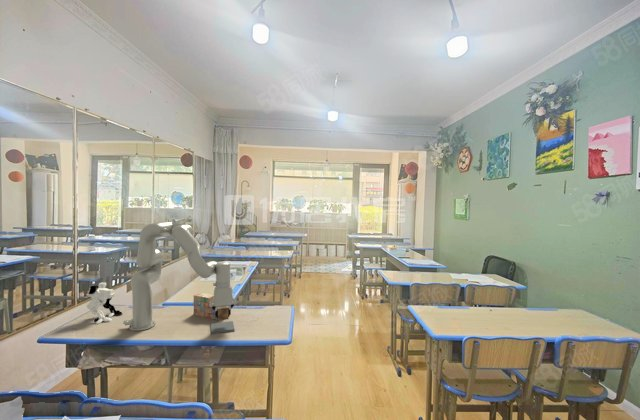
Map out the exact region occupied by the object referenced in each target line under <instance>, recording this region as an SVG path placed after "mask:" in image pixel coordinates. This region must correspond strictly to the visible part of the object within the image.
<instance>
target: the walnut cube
mask: <svg viewBox="0 0 640 420" xmlns="http://www.w3.org/2000/svg"><path fill="white" fill-rule="evenodd" d="M228 308H229V307H228V306H224V307H218V320H217V321H225V320H229V317H228Z"/></svg>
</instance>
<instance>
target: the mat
mask: <svg viewBox="0 0 640 420" xmlns="http://www.w3.org/2000/svg"><path fill="white" fill-rule="evenodd" d="M210 332H211V333H210V334H211V335H213V334H220V333H221V334H222V333H228V332H229V333H230V332H235V325H234V320H229V321H221V322H213V323H212V322H211V323H210Z"/></svg>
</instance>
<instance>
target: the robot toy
mask: <svg viewBox="0 0 640 420" xmlns="http://www.w3.org/2000/svg"><path fill="white" fill-rule="evenodd" d="M88 295H90V297H91V300H90V301H89V302H88V303H87V305H86V308H87V309H88V310H89V311H90V312H91V314H93V315H97V318H95V319H94V320H93V321H94V322H95V325H99V324H101V323H102V322H106V323H107V322H111V321H113V319H112V317H113V316H122V315H123V312H122V311H120V310H116V308H115V306H114V305H113V304H111V303H110V302H111V300H112V299H113V298H114V297H115V295H116V293H115V291H114V289H113V288H110V289H109V288H107V282H99V283H98V285H92V286H89V290H88ZM99 306H102V307H103V308H104V309H108V310H109V311H108V312H106V314H104V312H103V311H102V310H101V309H99Z"/></svg>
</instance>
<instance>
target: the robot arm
mask: <svg viewBox="0 0 640 420" xmlns="http://www.w3.org/2000/svg"><path fill="white" fill-rule="evenodd" d="M164 237H172V239H174V241H175V242H176V243H177V244H178V246H179V247H180V248H181V249H182V250H183V252H184V253H185V254H186V257H187V261H188V263H189V265H190V267H191V268H192V270H193V271H194V272H195V273H196V274H197V275H198V276H199V277H200V278H202V279H208V278H210V277H212V276H213V275H215V282H214V283H212V284H213V287H214V290H213V295H214V297H213V300H212V301H211V302H210V303H209V306H210V307H211V308H212V309H213V310H215V317H216V316H217V318H218V307H219V306H228V318H230V316H231V315H232V313H231V311H232V309H233V308H234V307H235V305H237V304H238V301H237V300H236V299H235V298H234V297H233V289H232V286H231V263H229V262H227V261H215V260H211V261H207V262H206V261H205V259H204V258H203V257H202V255H201V245H200V243H199V242H198V240H197V239H196V238H195V237H194V228H193V227H192V226H191V225H189V224H186V223H180V222H172V221H159V222H153V223H149V224H146V225H145V226H144V227H143V228H142V229H141V230H140V233H139V242H138V243H139V244H138V249H137V255H136V265H137V267H138V268H140V269H141V270H137V271H136V272H135V273H133V274H132V276H131V278H130V286H131V291H132V318H131V319H130V320H128V319H127V320H123V323H122V324H123V325H125V326H129V327H128V329H129V330H130V331H133V332H134V331H135V332H137V331H138V332H139V331H145V330H149V329H151V328H153V327H155V326H156V321H154V320H153V290H152V287H151V285H152V284H154V283H157V282H158V280H160V278H161V274H162V267H163V261H164V255H163V252H161V250H159V249H158V248H157V240H156V239H160V238H164ZM212 304H214V306H213V305H212Z"/></svg>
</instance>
